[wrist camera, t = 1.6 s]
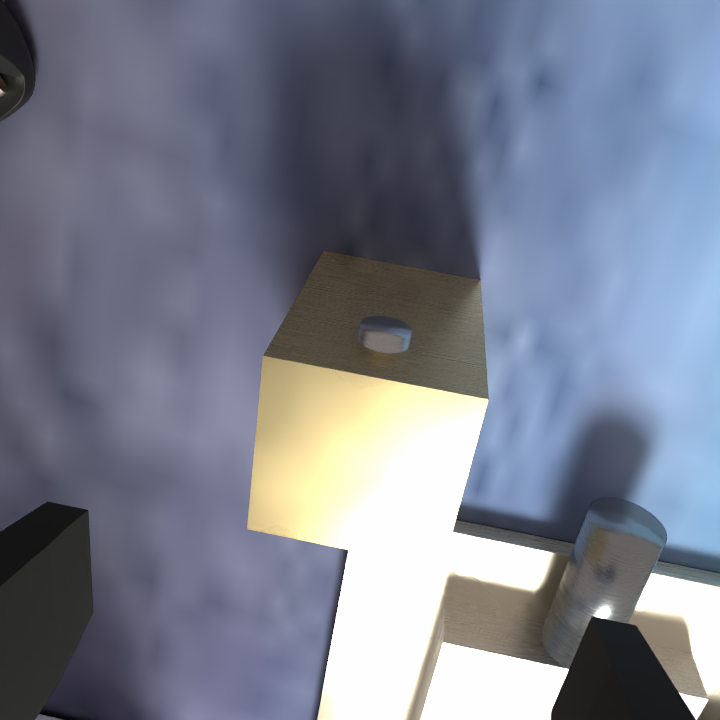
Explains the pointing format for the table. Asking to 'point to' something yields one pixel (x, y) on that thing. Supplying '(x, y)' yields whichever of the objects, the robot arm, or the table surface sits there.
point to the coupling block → (371, 410)
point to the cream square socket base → (515, 621)
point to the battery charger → (13, 66)
